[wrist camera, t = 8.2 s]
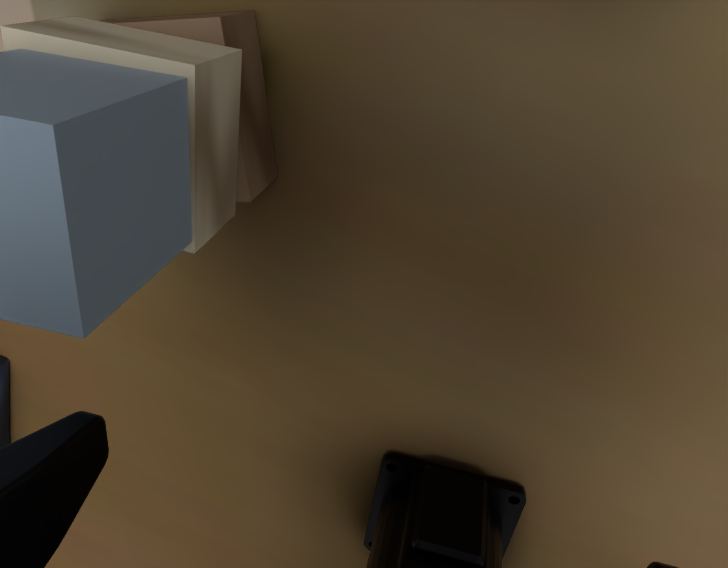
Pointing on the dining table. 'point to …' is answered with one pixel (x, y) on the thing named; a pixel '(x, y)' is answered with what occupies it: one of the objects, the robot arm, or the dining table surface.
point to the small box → (4, 402)
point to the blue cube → (87, 186)
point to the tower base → (254, 115)
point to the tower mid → (205, 97)
